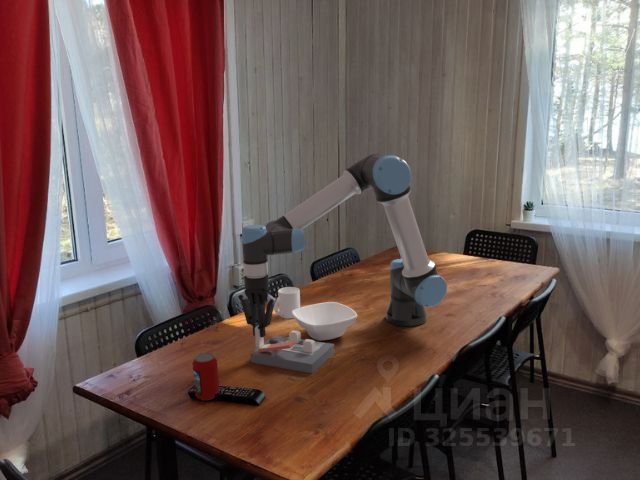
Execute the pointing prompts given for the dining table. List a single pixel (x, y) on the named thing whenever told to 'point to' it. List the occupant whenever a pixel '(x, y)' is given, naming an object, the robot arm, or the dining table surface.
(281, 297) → the mug
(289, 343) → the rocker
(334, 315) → the bowl
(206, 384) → the beverage can
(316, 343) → the panel
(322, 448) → the dining table surface
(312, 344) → the slider
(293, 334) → the slider
